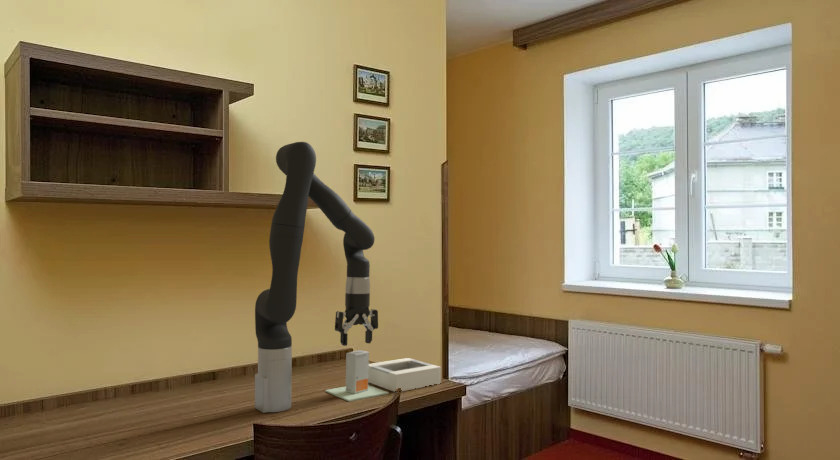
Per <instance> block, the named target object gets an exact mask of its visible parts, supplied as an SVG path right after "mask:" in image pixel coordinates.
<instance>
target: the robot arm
mask: <svg viewBox="0 0 840 460" xmlns="http://www.w3.org/2000/svg"><path fill="white" fill-rule="evenodd" d="M315 151H316V150H315V149H314V147H313V146H312V145H311V144H310V143H309V142H307V141H295V142H292V143H288V144H285V145H283V146H281V147H279V149H278V150H277V152H276V155H275V161H276V163H275V164H276V166H277V167H278V169H279V170H280V171H281V172H282V173H283V174H284V175H285V176H286V177H285V184H284V189H283V192H282V195H281V197H280V199H279V200H278V201H279V202H278V203H277V206H276V208H275V210H274V212H273V216H272V218H271V225H270V232H269V240H268V244H269V252H270V260H271V264H272V265H271V267H272V268H271V269H272V273H271V280H270V286H269V288H267V289H265V290H263V291H261V292H260V294H259V295H258V296H257V298H256V299H255V300H256V301H255V306H254V307H255V308H254V324H255V326H254V327H255V336H256V340H257V373H255V375H254V409H256V410H257V411H260V412H261V413H263V414H264V413H278V412H284V411H287V410H290V409H291V408H292V351H293V350H292V347H293V345H292V341H293V339H292V336H291V334H290V332H289V329H288V325H287V323H288V322H289V321H290V320H291V319H292V318H293V316H294V315H295V312H296V310H297V299H298V298H297V297H298V296H297V293H298V292H297V291H298V289H297V288H298V274H299V268H300V267H299V266H300V260H301V255H302V254H301V253H302V246H303V240H304V235H305V233H304V232H305V225H306V224H305V223H306V216H307V211H308V209H307V208H308V201H309V199H311V201H312V202H313V203H314V204H315V205H316V206H317V208H319V209H320V211H321V212H322V213H323V214H324V216H325V217H326V218H327V219H328V220H329V221H330V223H331V224H332V225H333V227H335V228H336V229H337V230H339V231H342V232H343V233H344V235H343V240H342V245H343V251H344V255H345V260H346V280H345V288H344V289H345V295H344V297H345V299H344V303H345V304H344V305H345V310H344V311H338V310H337V311H336V312H335V317H334V318H335V319H334V321H335V322H334V331H335V332H339V333H340V339H339V340H340V344H341V345H342V346H345V347H347V345H348V332H349V330H350V329H351V328H352V327H353V326H358V325H363V327H364V328H365V329H366V330H365V336H364V338H365V339H364V340H365V341H364V342H365V343H366V344H371V342H372V341H373V331H374V330H377V329H379V314H378V313H379V311H378V310H377V309H374V308H371V309H370V308H369V307H370V305H371V304H370V303H371V302H370V301H371V300H370V298H371V296H370V295H371V294H370V293H371V281H370V260H369V259H368V258H366V257H365V255H364V251H367V250H370V248H372V247H373V246H374V244H375V235H374V233H373V230H372V229H371V228H370V226H368V225H367V224H366V223H365V222H364V221H363V220H362V219H361V218H360V217H358V216H357V215H356V214H355V213H354V212H353V211H352V209H350V207H349V206H348V205H347V203H346V202H345V201H344V200H343V198H342V197H341V196H340V195H339V194H338V193H337V192H336V191H334V190H333V189H332V188H330V187H329V186H328V185H327V184H325V183H324V182H323V181H322V180H321V179H320V178H319V177H318V176H317V175H316V174H315V168H316V165H317V164H316V163H317V154H316V152H315ZM369 317H370V320H369ZM344 318H345V320H344Z"/></svg>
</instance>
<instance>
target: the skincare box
mask: <svg viewBox="0 0 840 460" xmlns="http://www.w3.org/2000/svg"><path fill="white" fill-rule="evenodd" d="M369 358H370V352H369V351H366V350H361V349H360V350H354V351H353V350H352V351H350V352H346V355H345V386H346V392H350V393H354V394H355V393H359V392H363V391H367V390H368V385H369V382H368V374H369V364H370V362H369V361H370V359H369Z"/></svg>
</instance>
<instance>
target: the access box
mask: <svg viewBox="0 0 840 460" xmlns="http://www.w3.org/2000/svg"><path fill="white" fill-rule="evenodd" d="M440 383H441V384H442V367H441V366H439V365H435V364H432V363H428V362H425V361H421V360H417V359H414V358H409V357H405V358H399V359H393V360H391V359H390V360H386V361H378V362H373V363H369V374H368V384H371V385H374V386H377V387H380V388H383V389H386V390H389V391H391V392H393V393H396V392H395V391H396V389H398V388H401V390H402V391H401V392H405V391H409V390H416V389H421V388H425V386H427V387H430V386H429V385H432V386H435V385H434V384H437V385H441V384H440ZM415 388H416V389H415Z"/></svg>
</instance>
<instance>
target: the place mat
mask: <svg viewBox="0 0 840 460" xmlns="http://www.w3.org/2000/svg"><path fill="white" fill-rule="evenodd" d="M325 393H327V394H330V395H332V396H334V397H337V398H340V399H342V400H344V401H346V402H354V401H361V400H364V399H368V398H369V399H370V398H375V397H380V396H384V395H389V392H388V391H386V390H383V389H380V388H377V387H375V386H373V385H370V384H368V390H367V391H363V392H359V393H355V394H354V393H350V392H346V385H345V386H341V387H334V388H330V389H325Z"/></svg>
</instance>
